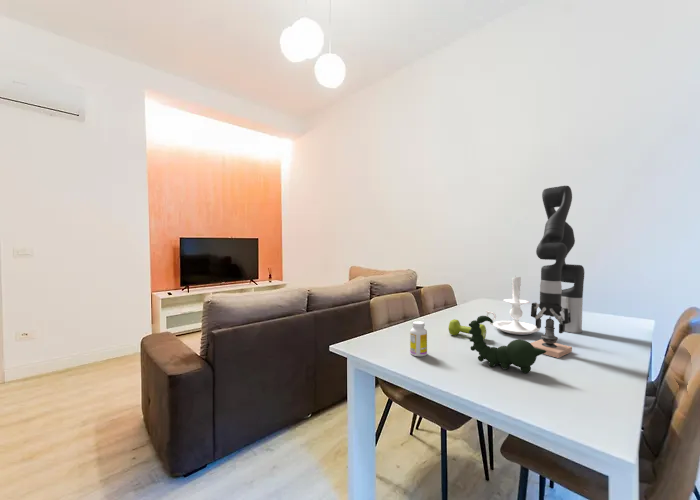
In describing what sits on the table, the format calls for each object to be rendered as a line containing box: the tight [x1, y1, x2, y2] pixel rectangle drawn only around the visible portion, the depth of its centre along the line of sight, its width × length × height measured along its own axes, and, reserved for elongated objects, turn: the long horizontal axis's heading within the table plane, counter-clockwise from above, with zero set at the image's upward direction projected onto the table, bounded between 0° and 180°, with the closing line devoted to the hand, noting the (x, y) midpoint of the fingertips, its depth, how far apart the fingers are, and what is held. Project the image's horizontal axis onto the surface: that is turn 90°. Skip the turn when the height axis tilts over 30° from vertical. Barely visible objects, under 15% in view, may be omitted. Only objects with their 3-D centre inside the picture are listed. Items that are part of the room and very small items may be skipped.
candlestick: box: [485, 275, 541, 336], centre depth 160 cm, size 21×25×28 cm
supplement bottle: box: [409, 320, 428, 358], centre depth 129 cm, size 7×7×13 cm
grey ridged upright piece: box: [541, 316, 559, 348], centre depth 133 cm, size 6×6×12 cm
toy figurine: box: [468, 315, 546, 374], centre depth 116 cm, size 9×19×25 cm
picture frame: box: [529, 338, 573, 359], centre depth 133 cm, size 2×12×12 cm
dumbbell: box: [447, 318, 487, 340], centre depth 151 cm, size 16×8×7 cm, turn 46°
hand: (549, 330), depth 132 cm, fingers open, 8 cm apart
